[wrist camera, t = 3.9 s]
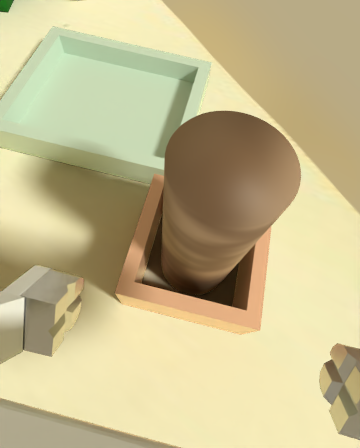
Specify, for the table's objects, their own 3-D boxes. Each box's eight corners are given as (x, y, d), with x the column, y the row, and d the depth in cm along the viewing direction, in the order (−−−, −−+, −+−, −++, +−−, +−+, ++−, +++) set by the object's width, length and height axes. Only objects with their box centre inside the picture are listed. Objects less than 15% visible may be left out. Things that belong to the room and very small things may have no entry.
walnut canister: (153, 285, 23) (147, 204, 11) (170, 225, 26) (181, 99, 13) (220, 302, 23) (296, 240, 10) (231, 240, 25) (303, 127, 13)
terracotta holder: (122, 304, 22) (114, 293, 18) (154, 201, 26) (154, 173, 22) (240, 334, 22) (260, 330, 18) (255, 225, 26) (273, 202, 22)
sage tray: (-2, 146, 28) (-18, 126, 25) (60, 50, 34) (52, 26, 31) (177, 190, 27) (179, 173, 25) (207, 84, 33) (211, 62, 31)
